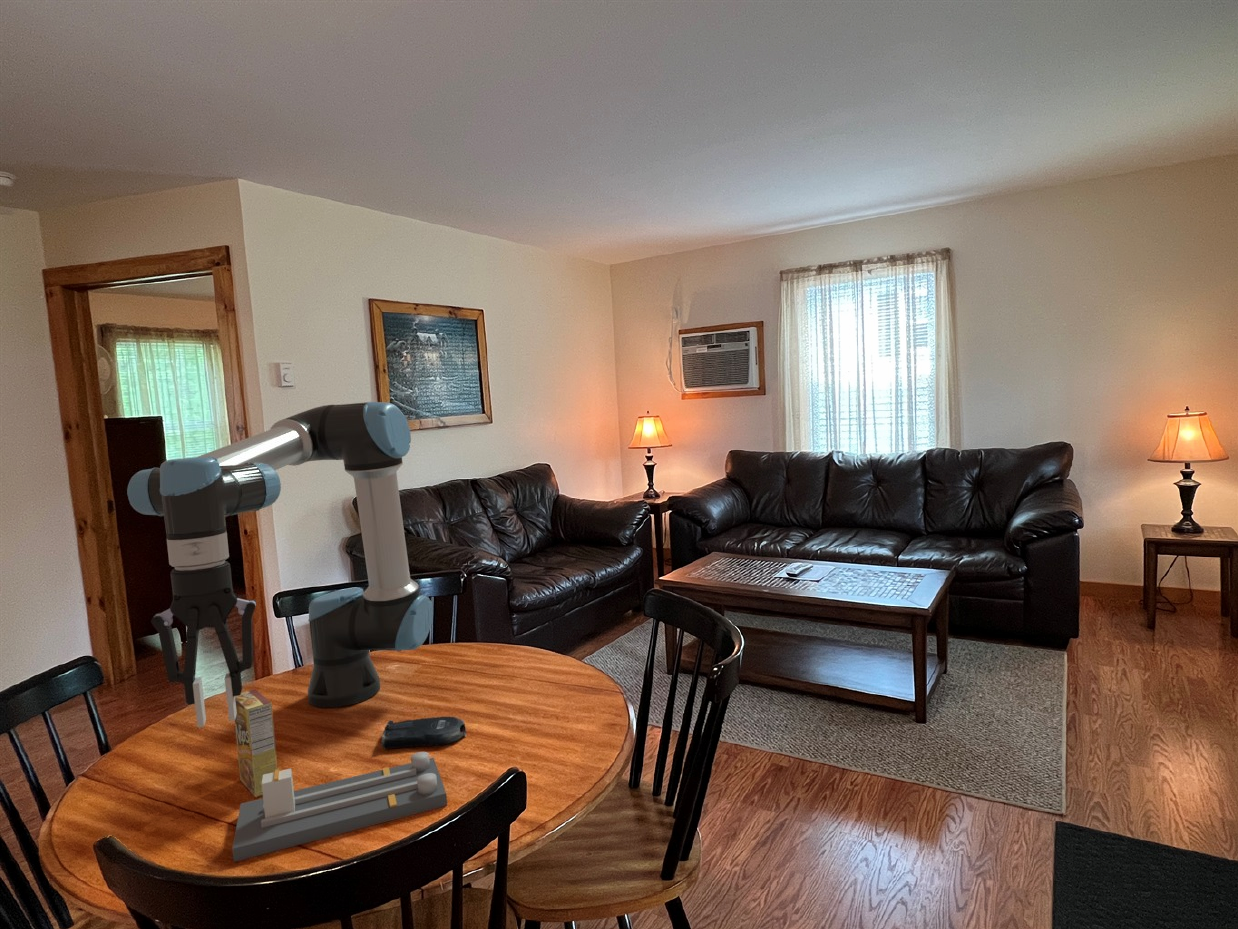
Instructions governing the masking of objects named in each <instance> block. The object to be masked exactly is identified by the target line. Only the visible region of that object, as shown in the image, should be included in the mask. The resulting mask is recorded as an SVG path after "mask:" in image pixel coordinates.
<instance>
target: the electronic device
mask: <svg viewBox="0 0 1238 929" xmlns="http://www.w3.org/2000/svg"><path fill="white" fill-rule="evenodd" d="M466 729H467V728H466V724H465V721H464V720H462V719H461V718H458V717H455V716H437V717H435V716H434V717H425V718H424V717H423V718H418V719H412V720H411V719H409V720H403V721H398V722H394V721H393V720H390V719H389V720H388V721H387V724H386V725H385V727H384V730H383V731H382V734H381V747H382V748H383V749H384V750H390V749H401V748H410V747H411V748H412V747H419V746H426V747H428V746H429V747H436V746H440V747H443V746H445V745H450V744H453V743H455V742H457V741H459V740H461V738H462V737H464V736H465V737H467V734H466V733H467V730H466ZM462 732H463V733H462Z"/></svg>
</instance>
